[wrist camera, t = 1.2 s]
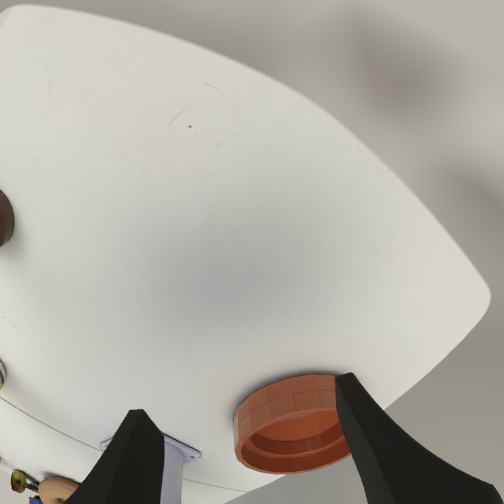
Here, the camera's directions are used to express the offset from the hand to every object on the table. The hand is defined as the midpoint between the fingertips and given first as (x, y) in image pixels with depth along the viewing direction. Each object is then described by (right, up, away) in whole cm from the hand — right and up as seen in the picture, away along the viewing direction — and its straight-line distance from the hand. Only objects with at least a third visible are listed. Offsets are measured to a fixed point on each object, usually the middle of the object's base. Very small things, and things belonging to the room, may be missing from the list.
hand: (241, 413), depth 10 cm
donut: (-31, -37, +20) cm, 52 cm away
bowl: (+5, -9, +16) cm, 19 cm away
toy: (-45, -37, +22) cm, 62 cm away
